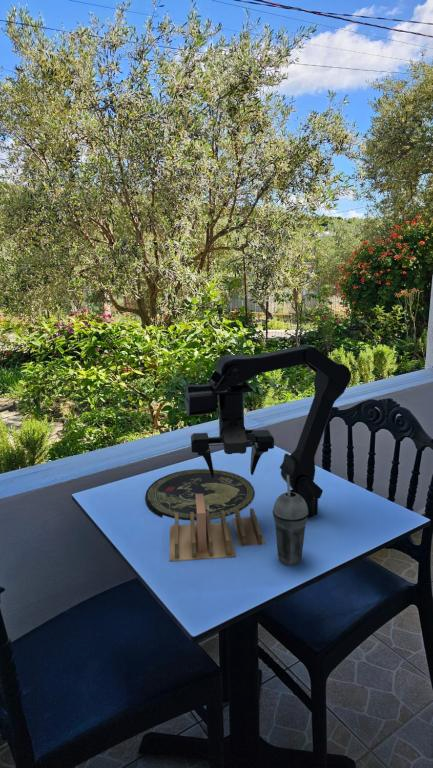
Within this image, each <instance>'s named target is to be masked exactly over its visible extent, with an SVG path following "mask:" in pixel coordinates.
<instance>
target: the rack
mask: <svg viewBox="0 0 433 768" xmlns="http://www.w3.org/2000/svg"><path fill="white" fill-rule="evenodd" d="M205 512H206V545H207V551H201V552H198V541H197V526H196V523H195V521H194V512H190V520H189V521H190V524H179V522H180V521H179V520H180V519H178V513H175V518H174V525H170V527H169V529H170V530H169V558H168V559H169V563H170V562H182V561H184V562H185V561H201V560H216V559H217V560H218V559H227V558H228V559H229V558H230V559H231V558H237V554H236V548H235V545H234V540H233V535H232V530H231V527H230V522H229V521H227V518H226V517H225V513H224V510H221V518H220V522H214V523H213V522H211V520H210V516H209V511H205Z"/></svg>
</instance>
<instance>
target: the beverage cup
mask: <svg viewBox="0 0 433 768" xmlns="http://www.w3.org/2000/svg"><path fill="white" fill-rule="evenodd" d="M286 486H287V487H286V488H287V489H286V490H287V491H286V492H284V493H282V494H280V495H279V496H278V497H277V498H276V499H275V502H274V505H273V508H272V514H273V521H274V524H275V536H276V537H275V538H276V548H277V556H278V557H277V558H278V561H279V562H280V564H282V565H285V566H288V567H294V566H297V565H299V564H301V561H302V557H303V549H304V540H305V531H306V525H307V522H308V519H309V518H308V515H309V512H308V507H307V504H306V502H305V500H304V499H303V498H302V497H301V496H300V495H299V494H297V493H294V492H290V490H291V487H290V482H289V475H287V483H286Z"/></svg>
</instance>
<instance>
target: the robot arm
mask: <svg viewBox="0 0 433 768" xmlns="http://www.w3.org/2000/svg"><path fill="white" fill-rule="evenodd" d="M303 365H306V366H307V367H308V368H309V369H310V370H312V371H313V372H314V373H315V374H314V380H313V383H314V386H313V387H314V397H313V400H312V403H311V405H310V408H309V411H308V413H307V416H306V420H305V423H304V425H303V428H302V430H301V434H300V437H299V439H298V441H297V445H296V448H295V450H294V451H293V452H292V453H291V454H289V453H285V454H284V456H283V460H282V464H280V466H279V469H280V470H281V471H280V476H281V478H282V479H283V481H284V482H285V483H286V484H287V475H289V482H290V492H294V493H297V494H299V495H300V496H301V497H302V498H303V499H304V500H305V502H306V504H307V507H308V512H309V515H308V518H307V519H310V518H313V517H314V516H317V515H318V513H319V512H318V511H319V510H318V508H319V499H321V498H322V494H323V491H324V490H323V489H322V488H321V487H320V486H319V485H318V484H317V483H316V482H314V481H315V474H316V462H315V461H316V460H315V459H316V455H317V451H318V449H319V445H320V443H321V441H322V438H323V435H324V432H325V429H326V427H327V423H328V421H329V418H330V415H331V412H332V409H333V407H334V404H335V402H336V401H337V400H338V399H339V398H340V397H341V396H342V395H343V394H344V393H345V391H346V389H347V388H348V386H349V385H350V384H349V383H350V381H351V379H352V373H351V371H350V368H349V367H348V366H347V365H345V364H343V363H340V362H338V361H334V360H333V359H331V358H330V357H328V356H327V355H325V354H323V353H322V352H321V351H320V350H318V349H317V348H316V347H315V346H312V345H309V344H306V343H305V344H301V345H299V346H295V347H289V348H285V349H284V348H283V349H279V350H274V351H270V352H263V353H259V354H253V355H252V354H250V355H249V354H224V355H222V356H220V357H219V358H218V360H217V361H216V364H215V368H214V369H215V370H214V371H213V373H212V374H211V375H210V377H209V378H208V380H207V381H206V383H205V384H186V388H185V389H186V390H185V392H184V393H185V395H184V399H183V400H184V409H185V413H186V416H187V417H191V416H192V417H193V416H200V415H201V416H202V415H211V414H212V415H213V414H214V412H217V409H218V429H219V430H218V431H219V432H218V435H219V436H213V437H211V436H209V433H208V432H195V433H192V434H191V435H190V446H191V453H194V454H195V453H196V454H197V456H200V457H202V458H203V459H204V460H205V463H206V464H207V467H208V468H207V469H209V470H210V473H211V476H212V477H214V471H213V469H214V466H213V460H212V454H211V448H210V447H214V446H215V447H216V446H223V453H224V454H226V455H232V454H233V455H234V454H241V455H242V454H243V455H244V454H245V453H247V448H251V453H250V454H251V455H250V468H249V469H250V475H251V476H254V473H255V471H256V468H257V465H258V462H259V460H260V458H261V457H262V455H263V454H264V453H267V452H269V450H272V449H274V448H275V438H274V436H273V434H272V433H271V431H270V430H269V429H256V430H255V429H247V428H246V427H245V393H253V392H254V389H253V388H252V387H251V386H250V385H249V384H248V383H247V381H249V380H252V379H253V378H254V377H256V376H258V375H261V374H264V373H269V372H272V371H277V370H282V369H286V368H292V367H297V366H303Z"/></svg>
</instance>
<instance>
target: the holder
mask: <svg viewBox="0 0 433 768" xmlns="http://www.w3.org/2000/svg"><path fill="white" fill-rule="evenodd" d="M232 524H233V527H234V533H235V538H236V542H237V546H238V547H250V546H261V545H262V546H263V545H264V546H265V545H266V541H265V538H264V535H263V533H262V530H261V526H260V523H259V520H258V518H257V516H256V512H255V510H254V508H252V507H251V508H249V517H241V513H240V511H239V509H235V515H234V518H232Z"/></svg>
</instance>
